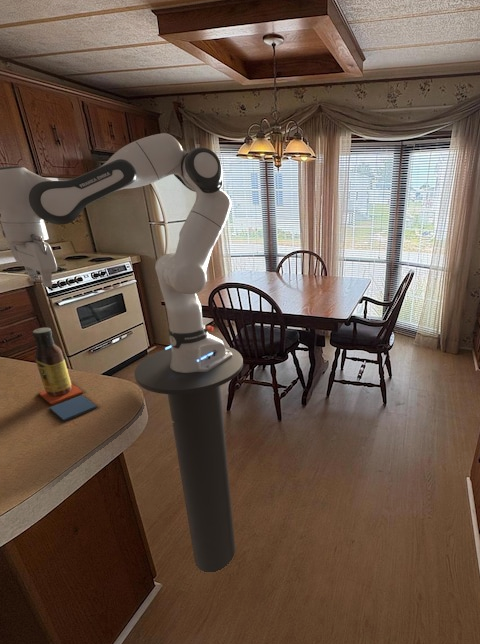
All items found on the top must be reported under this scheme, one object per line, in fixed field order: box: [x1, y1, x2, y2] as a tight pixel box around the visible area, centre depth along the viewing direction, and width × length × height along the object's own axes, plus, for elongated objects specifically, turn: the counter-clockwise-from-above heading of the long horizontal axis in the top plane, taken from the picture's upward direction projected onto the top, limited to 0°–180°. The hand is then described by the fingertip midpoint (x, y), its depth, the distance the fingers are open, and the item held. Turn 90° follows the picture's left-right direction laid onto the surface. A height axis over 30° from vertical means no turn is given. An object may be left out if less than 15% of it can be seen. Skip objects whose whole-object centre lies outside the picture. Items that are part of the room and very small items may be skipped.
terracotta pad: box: [38, 382, 84, 406], centre depth 101 cm, size 8×9×1 cm
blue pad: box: [49, 394, 98, 422], centre depth 94 cm, size 8×9×1 cm
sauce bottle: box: [32, 327, 72, 396], centre depth 97 cm, size 7×6×20 cm
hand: (41, 283), depth 97 cm, fingers open, 8 cm apart
